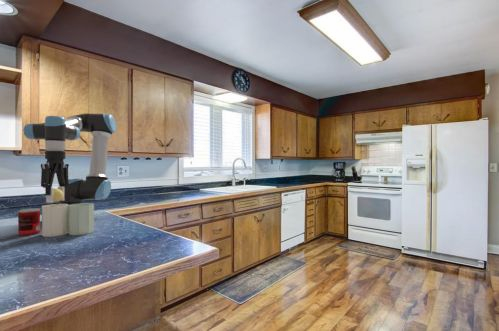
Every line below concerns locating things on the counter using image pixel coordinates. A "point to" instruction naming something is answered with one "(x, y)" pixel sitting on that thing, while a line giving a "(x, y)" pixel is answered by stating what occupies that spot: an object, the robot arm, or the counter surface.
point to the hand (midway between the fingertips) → (55, 201)
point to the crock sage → (80, 218)
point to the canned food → (28, 221)
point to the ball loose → (57, 195)
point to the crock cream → (54, 220)
